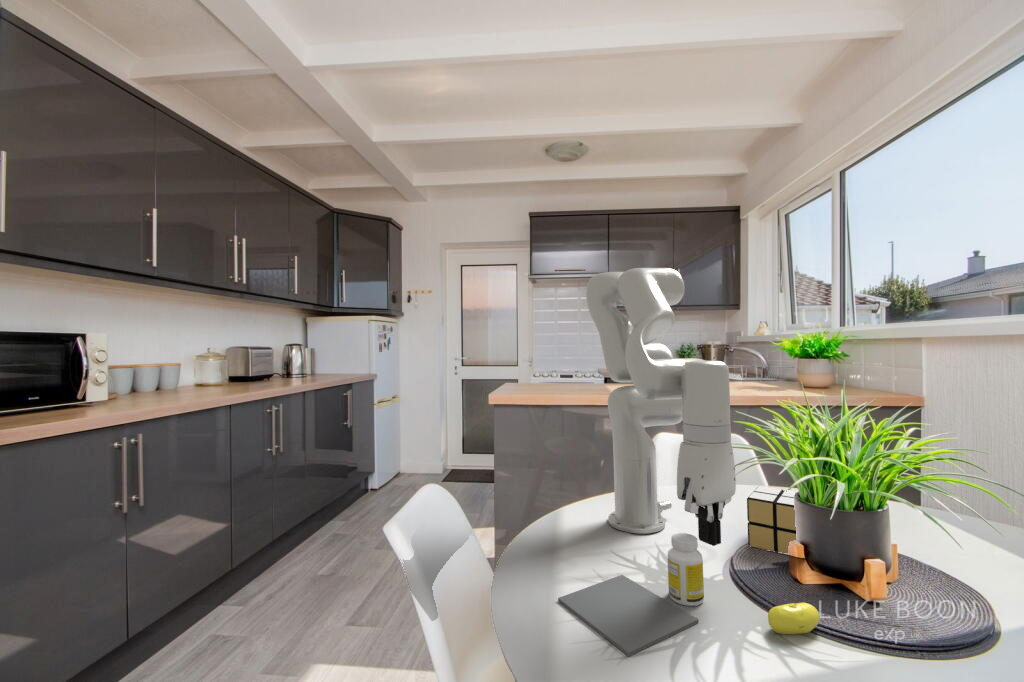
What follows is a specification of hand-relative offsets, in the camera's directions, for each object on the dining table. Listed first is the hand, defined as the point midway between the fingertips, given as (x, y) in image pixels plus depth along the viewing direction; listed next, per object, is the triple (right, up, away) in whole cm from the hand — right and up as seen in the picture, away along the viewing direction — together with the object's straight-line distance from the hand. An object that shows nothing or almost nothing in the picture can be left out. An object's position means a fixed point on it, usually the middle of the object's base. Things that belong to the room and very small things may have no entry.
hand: (709, 541), depth 79 cm
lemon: (+7, -8, -12) cm, 16 cm away
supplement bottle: (-5, -8, -3) cm, 10 cm away
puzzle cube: (+21, -8, +16) cm, 27 cm away
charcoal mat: (-16, -8, -6) cm, 19 cm away
